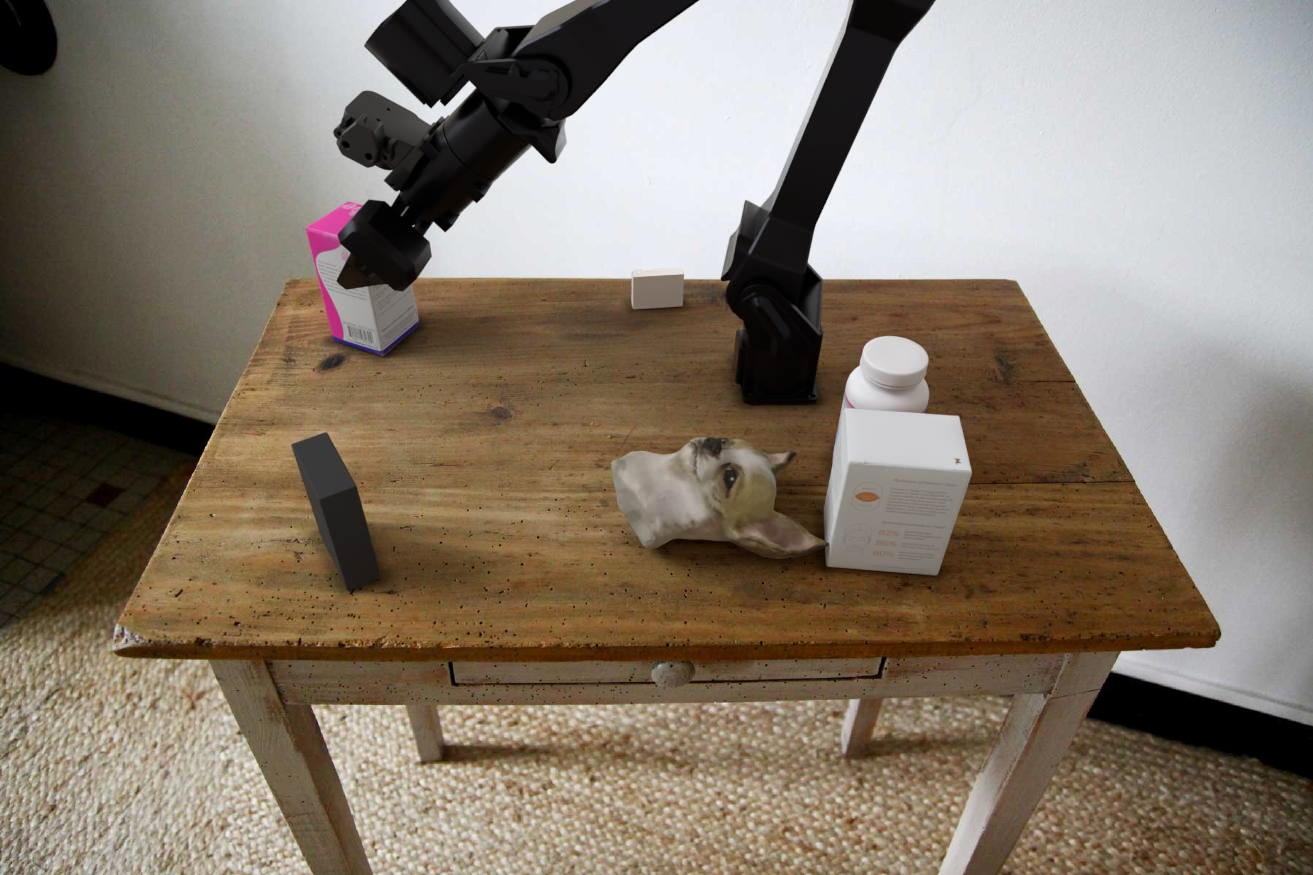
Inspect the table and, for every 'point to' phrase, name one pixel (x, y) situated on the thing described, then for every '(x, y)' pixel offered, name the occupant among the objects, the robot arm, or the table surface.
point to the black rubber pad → (337, 510)
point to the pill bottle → (888, 378)
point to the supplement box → (357, 293)
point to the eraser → (657, 288)
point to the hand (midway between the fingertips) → (363, 256)
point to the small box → (894, 490)
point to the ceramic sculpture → (710, 497)
